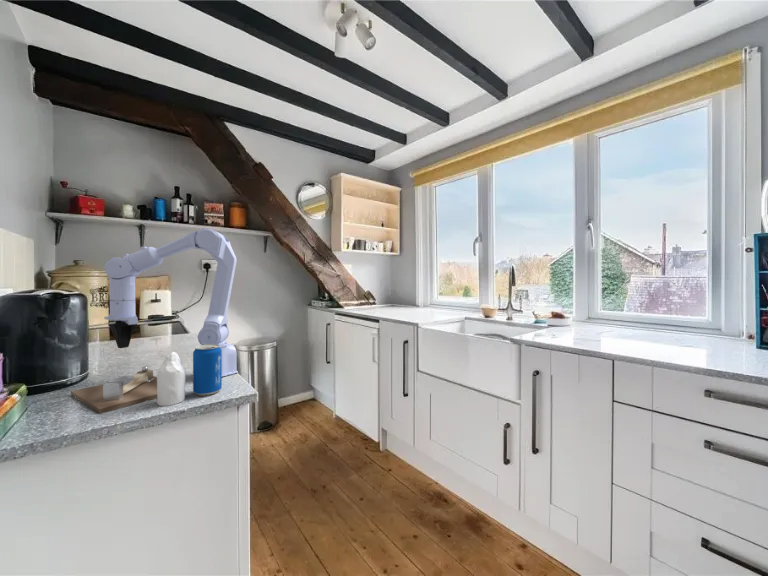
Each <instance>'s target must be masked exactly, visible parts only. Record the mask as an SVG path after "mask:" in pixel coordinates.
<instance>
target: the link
mask: <svg viewBox="0 0 768 576" xmlns="http://www.w3.org/2000/svg"><path fill="white" fill-rule="evenodd" d="M132 376H134V380H132V381H131V382H129V383H127V384H125V385H123V394H124V393H126V392H128V391H129V390H131V389H133V388H135V387H136V386H138V385H140V384H142V383H143V382H145V381H147V380H150V379H152V378H153V376H154V369H148V371H142V370H140V371H137V372H136V373H134V374H133V375H132Z"/></svg>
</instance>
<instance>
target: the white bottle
mask: <svg viewBox="0 0 768 576" xmlns="http://www.w3.org/2000/svg"><path fill="white" fill-rule="evenodd" d="M156 372H157V373H156V377H157V398H156V403H157V405H158V406H161V407H165V406H166V407H167V406H173V405H176V404H179V403H182V402H184V401H185V399H186V375H187V373H186V368H185V367H184V366H183V362H182V360H181V358H180V355H179V354H178V352H175V351H171V352H170V353H169V354H167V355H166V357H165V359H164V360H163V362H162V363H161V365H160V366H159V368H158V369H157V370H156Z"/></svg>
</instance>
